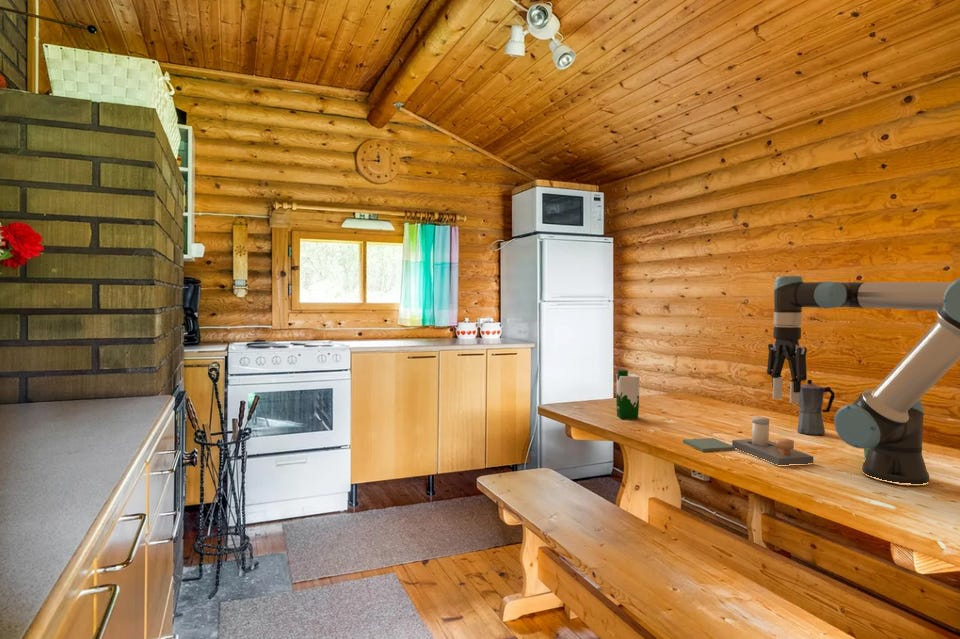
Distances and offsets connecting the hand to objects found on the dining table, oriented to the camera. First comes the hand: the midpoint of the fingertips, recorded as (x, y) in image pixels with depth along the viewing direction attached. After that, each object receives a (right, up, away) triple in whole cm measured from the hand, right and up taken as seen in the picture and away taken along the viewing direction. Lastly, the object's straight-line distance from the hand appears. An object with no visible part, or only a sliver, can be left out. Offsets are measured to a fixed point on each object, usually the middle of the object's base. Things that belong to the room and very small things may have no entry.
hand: (785, 400), depth 172 cm
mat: (-17, -18, +18) cm, 30 cm away
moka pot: (+30, -18, +36) cm, 50 cm away
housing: (-1, -19, +7) cm, 20 cm away
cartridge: (-2, -19, +12) cm, 22 cm away
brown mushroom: (0, -18, +1) cm, 19 cm away
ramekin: (+30, -19, 0) cm, 35 cm away
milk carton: (-32, -17, +63) cm, 73 cm away
